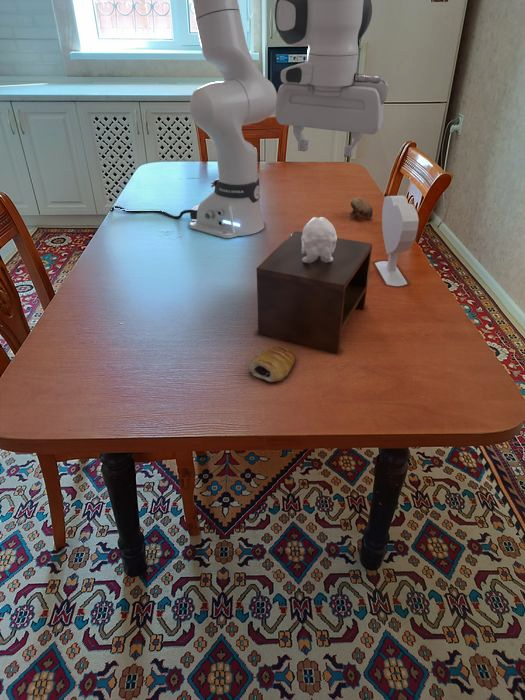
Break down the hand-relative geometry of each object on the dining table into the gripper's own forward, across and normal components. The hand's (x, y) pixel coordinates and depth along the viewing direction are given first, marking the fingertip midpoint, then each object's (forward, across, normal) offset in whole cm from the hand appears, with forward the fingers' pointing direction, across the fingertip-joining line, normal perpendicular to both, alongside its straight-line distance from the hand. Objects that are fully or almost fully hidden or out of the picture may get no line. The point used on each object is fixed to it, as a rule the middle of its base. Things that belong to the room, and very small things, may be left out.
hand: (325, 153), depth 95 cm
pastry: (+31, -3, +30) cm, 44 cm away
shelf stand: (+31, -4, +12) cm, 33 cm away
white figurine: (+16, -3, +12) cm, 20 cm away
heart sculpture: (+31, -14, -17) cm, 38 cm away
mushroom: (+32, +4, -50) cm, 59 cm away
